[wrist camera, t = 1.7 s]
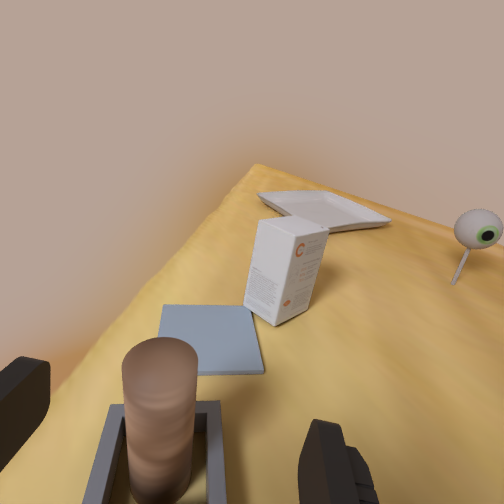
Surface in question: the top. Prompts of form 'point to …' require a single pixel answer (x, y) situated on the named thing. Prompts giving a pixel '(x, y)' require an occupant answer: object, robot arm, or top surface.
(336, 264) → the top surface
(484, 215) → the lollipop
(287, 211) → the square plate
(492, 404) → the top surface
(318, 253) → the small box
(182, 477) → the plug
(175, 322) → the mat
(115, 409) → the socket
